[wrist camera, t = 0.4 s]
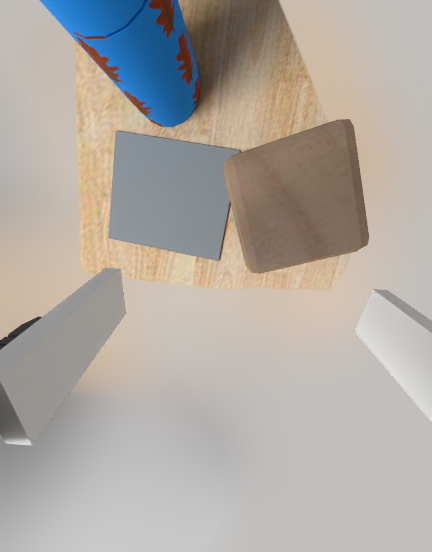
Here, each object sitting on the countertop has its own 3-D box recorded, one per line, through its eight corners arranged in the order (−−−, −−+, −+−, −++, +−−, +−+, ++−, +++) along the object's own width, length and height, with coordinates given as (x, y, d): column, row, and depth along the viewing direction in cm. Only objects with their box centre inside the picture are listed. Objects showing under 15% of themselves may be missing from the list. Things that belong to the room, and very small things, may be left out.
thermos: (126, 112, 35) (-131, -141, 11) (148, 37, 33) (-128, -508, 9) (185, 139, 35) (52, -61, 11) (212, 65, 32) (115, -417, 8)
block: (294, 176, 34) (358, 107, 15) (306, 238, 36) (377, 249, 16) (233, 195, 36) (218, 155, 17) (247, 253, 38) (248, 278, 18)
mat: (117, 131, 36) (115, 130, 36) (239, 151, 34) (239, 150, 34) (109, 238, 40) (108, 238, 40) (218, 260, 39) (218, 260, 38)
